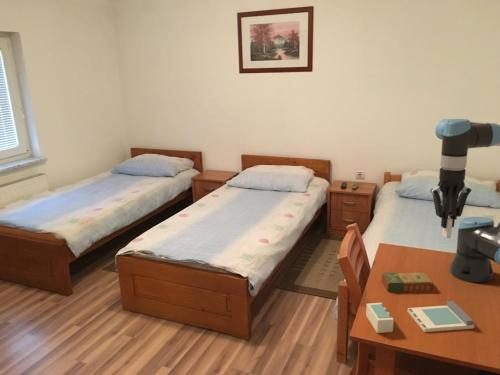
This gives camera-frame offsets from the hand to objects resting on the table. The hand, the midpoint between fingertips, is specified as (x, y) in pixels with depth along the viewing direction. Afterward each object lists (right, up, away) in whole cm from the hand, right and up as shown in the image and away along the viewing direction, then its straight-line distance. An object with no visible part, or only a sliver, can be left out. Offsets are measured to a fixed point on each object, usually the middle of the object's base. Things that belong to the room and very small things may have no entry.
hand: (446, 236), depth 144 cm
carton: (-7, -21, +18) cm, 29 cm away
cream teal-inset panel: (-4, -27, -5) cm, 27 cm away
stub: (-24, -28, -6) cm, 37 cm away
